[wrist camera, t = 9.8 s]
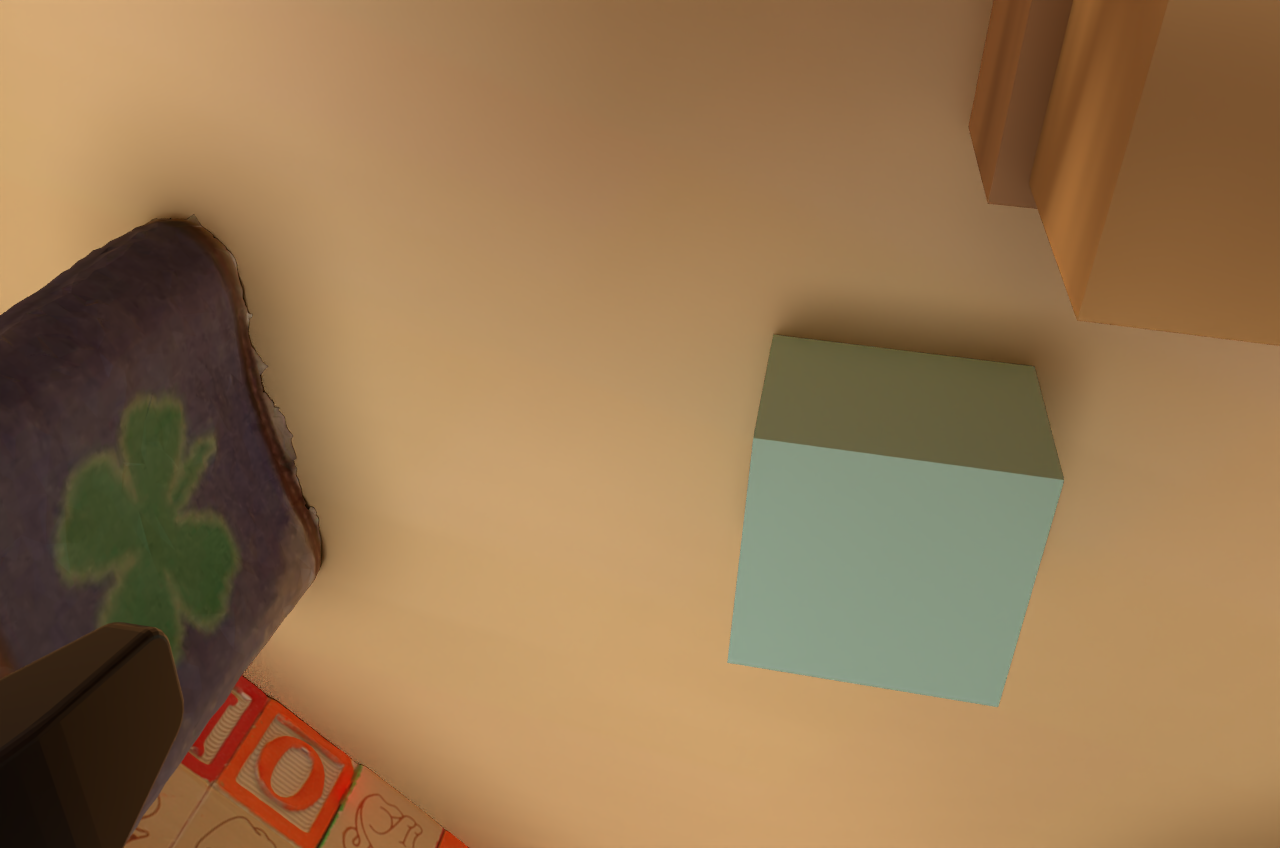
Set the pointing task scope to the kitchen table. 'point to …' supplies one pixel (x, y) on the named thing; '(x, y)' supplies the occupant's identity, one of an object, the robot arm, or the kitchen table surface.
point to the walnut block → (1015, 94)
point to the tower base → (893, 518)
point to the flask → (147, 468)
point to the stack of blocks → (278, 790)
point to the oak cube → (1167, 166)
